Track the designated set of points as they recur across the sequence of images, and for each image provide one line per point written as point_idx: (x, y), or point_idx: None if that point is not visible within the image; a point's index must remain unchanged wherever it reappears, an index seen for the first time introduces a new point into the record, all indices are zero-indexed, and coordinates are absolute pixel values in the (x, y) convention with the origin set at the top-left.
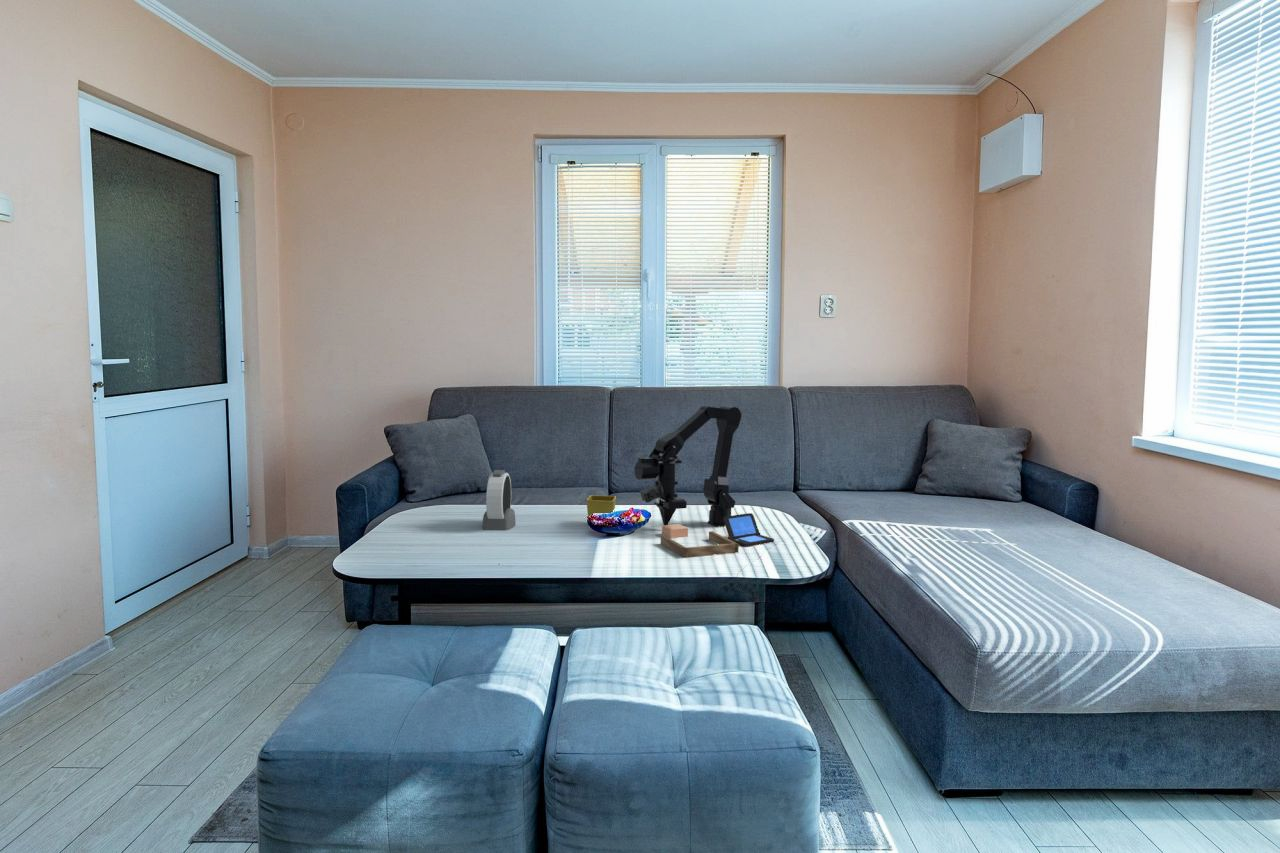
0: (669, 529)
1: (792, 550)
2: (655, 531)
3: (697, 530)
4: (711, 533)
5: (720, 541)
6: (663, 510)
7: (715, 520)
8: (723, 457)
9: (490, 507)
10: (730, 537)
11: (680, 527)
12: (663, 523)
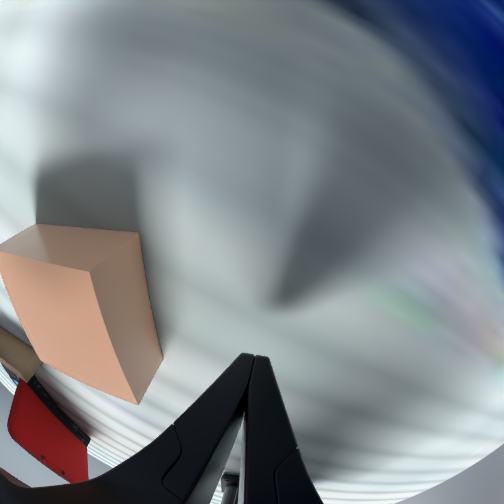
0: (5, 250)
1: (11, 387)
2: (251, 226)
3: None
4: (9, 362)
5: None
6: (119, 491)
7: (236, 493)
8: None
9: None
10: (19, 377)
11: (43, 342)
12: (260, 365)
